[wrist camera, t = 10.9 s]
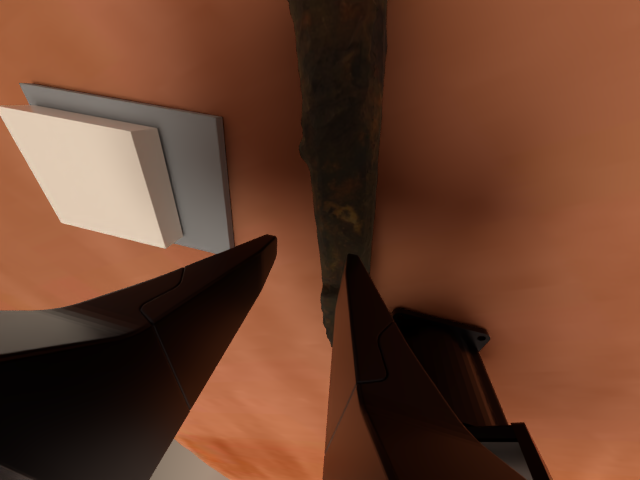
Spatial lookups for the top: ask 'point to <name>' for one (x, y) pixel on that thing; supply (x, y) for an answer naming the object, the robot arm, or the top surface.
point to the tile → (98, 172)
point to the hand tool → (341, 127)
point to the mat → (169, 158)
